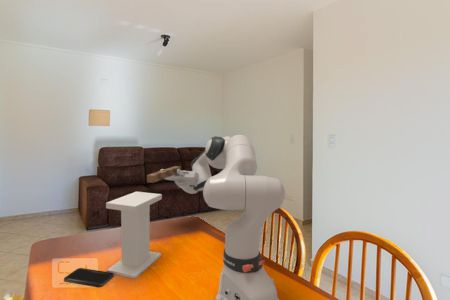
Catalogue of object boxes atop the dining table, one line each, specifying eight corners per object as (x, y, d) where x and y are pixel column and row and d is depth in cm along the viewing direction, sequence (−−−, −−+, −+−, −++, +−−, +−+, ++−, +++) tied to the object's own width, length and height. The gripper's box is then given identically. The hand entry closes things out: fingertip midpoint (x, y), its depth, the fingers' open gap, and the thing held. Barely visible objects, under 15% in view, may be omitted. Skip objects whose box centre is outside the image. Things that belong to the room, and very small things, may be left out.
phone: (100, 285, 89) (62, 279, 92) (101, 288, 89) (62, 282, 92) (115, 273, 97) (79, 267, 100) (115, 276, 97) (79, 270, 100)
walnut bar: (175, 171, 137) (175, 165, 137) (180, 172, 136) (180, 166, 136) (146, 182, 112) (146, 175, 112) (153, 182, 112) (153, 175, 111)
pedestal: (136, 251, 115) (136, 191, 113) (161, 255, 112) (161, 194, 110) (106, 272, 98) (105, 202, 96) (135, 278, 95) (135, 206, 93)
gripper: (167, 172, 147) (155, 162, 135) (202, 175, 142) (193, 165, 129) (164, 183, 145) (152, 174, 133) (199, 186, 139) (190, 177, 127)
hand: (172, 170), depth 131 cm, fingers closed on walnut bar, 3 cm apart
